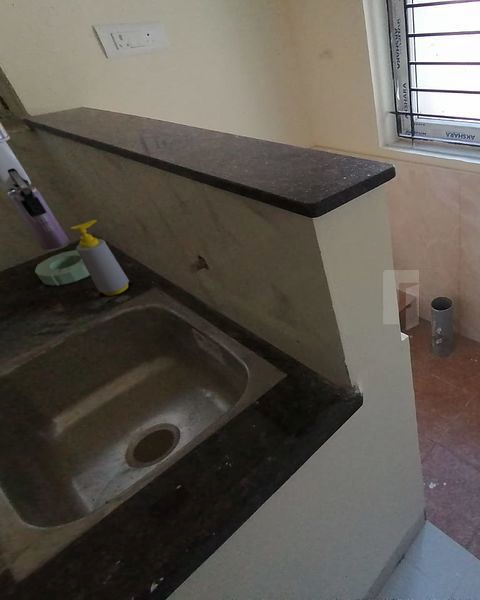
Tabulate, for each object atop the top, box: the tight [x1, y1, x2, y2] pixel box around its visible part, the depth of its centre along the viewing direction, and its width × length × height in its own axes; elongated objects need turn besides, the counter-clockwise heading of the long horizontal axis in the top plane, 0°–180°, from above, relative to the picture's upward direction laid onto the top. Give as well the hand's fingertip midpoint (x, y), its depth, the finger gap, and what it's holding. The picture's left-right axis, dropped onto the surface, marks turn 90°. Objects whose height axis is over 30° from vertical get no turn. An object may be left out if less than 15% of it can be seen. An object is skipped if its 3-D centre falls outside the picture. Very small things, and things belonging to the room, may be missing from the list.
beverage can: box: [6, 186, 70, 252], centre depth 97 cm, size 6×6×15 cm
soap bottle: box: [70, 219, 130, 296], centre depth 93 cm, size 7×7×18 cm
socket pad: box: [34, 249, 90, 287], centre depth 105 cm, size 13×13×3 cm
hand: (33, 210), depth 95 cm, fingers closed on beverage can, 6 cm apart
